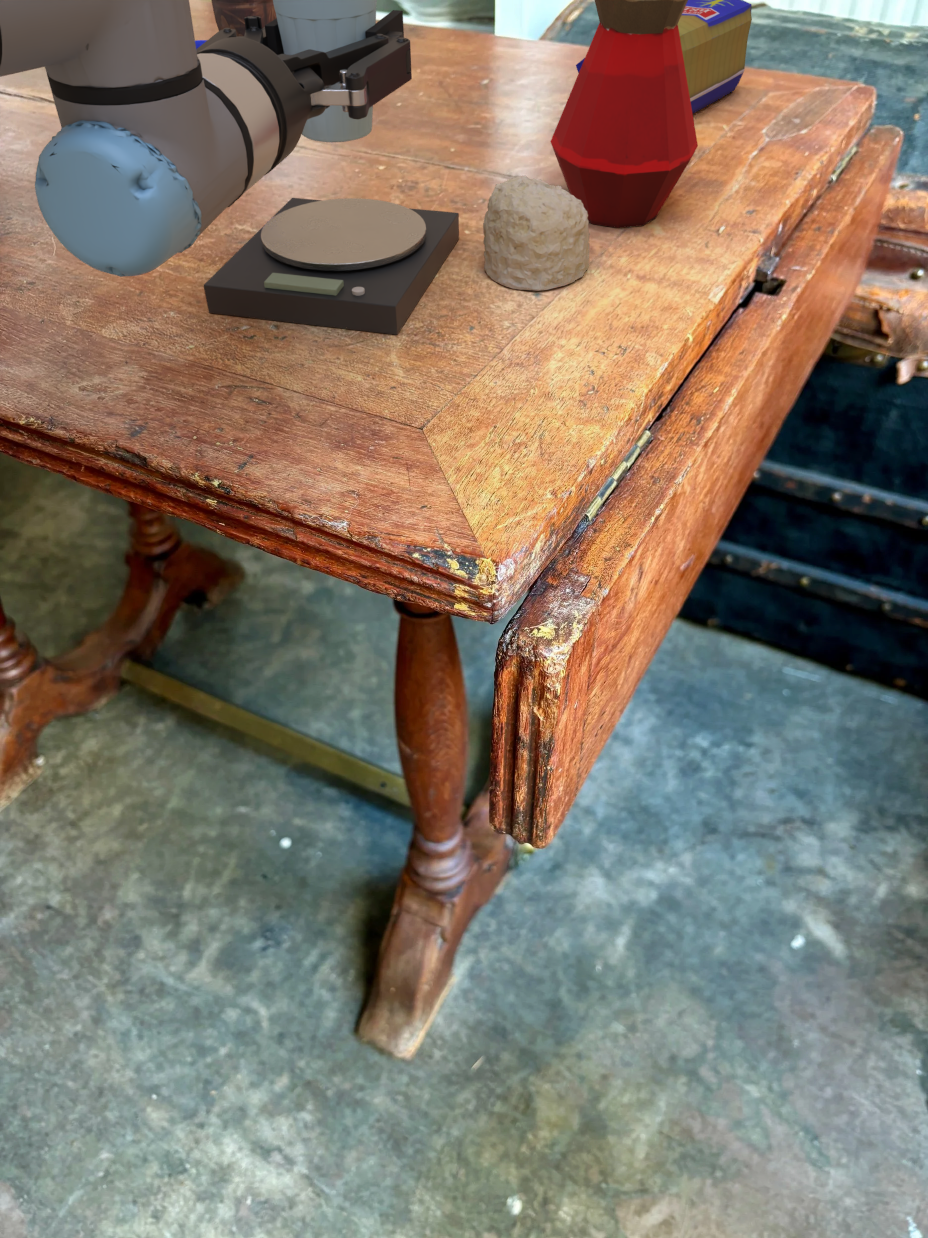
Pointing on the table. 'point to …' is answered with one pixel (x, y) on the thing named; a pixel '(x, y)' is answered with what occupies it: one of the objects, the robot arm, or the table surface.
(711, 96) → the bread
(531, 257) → the rock
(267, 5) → the mortar and pestle
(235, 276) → the scale
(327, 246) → the scale platform
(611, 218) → the red faceted vase
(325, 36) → the cup
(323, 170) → the table surface
